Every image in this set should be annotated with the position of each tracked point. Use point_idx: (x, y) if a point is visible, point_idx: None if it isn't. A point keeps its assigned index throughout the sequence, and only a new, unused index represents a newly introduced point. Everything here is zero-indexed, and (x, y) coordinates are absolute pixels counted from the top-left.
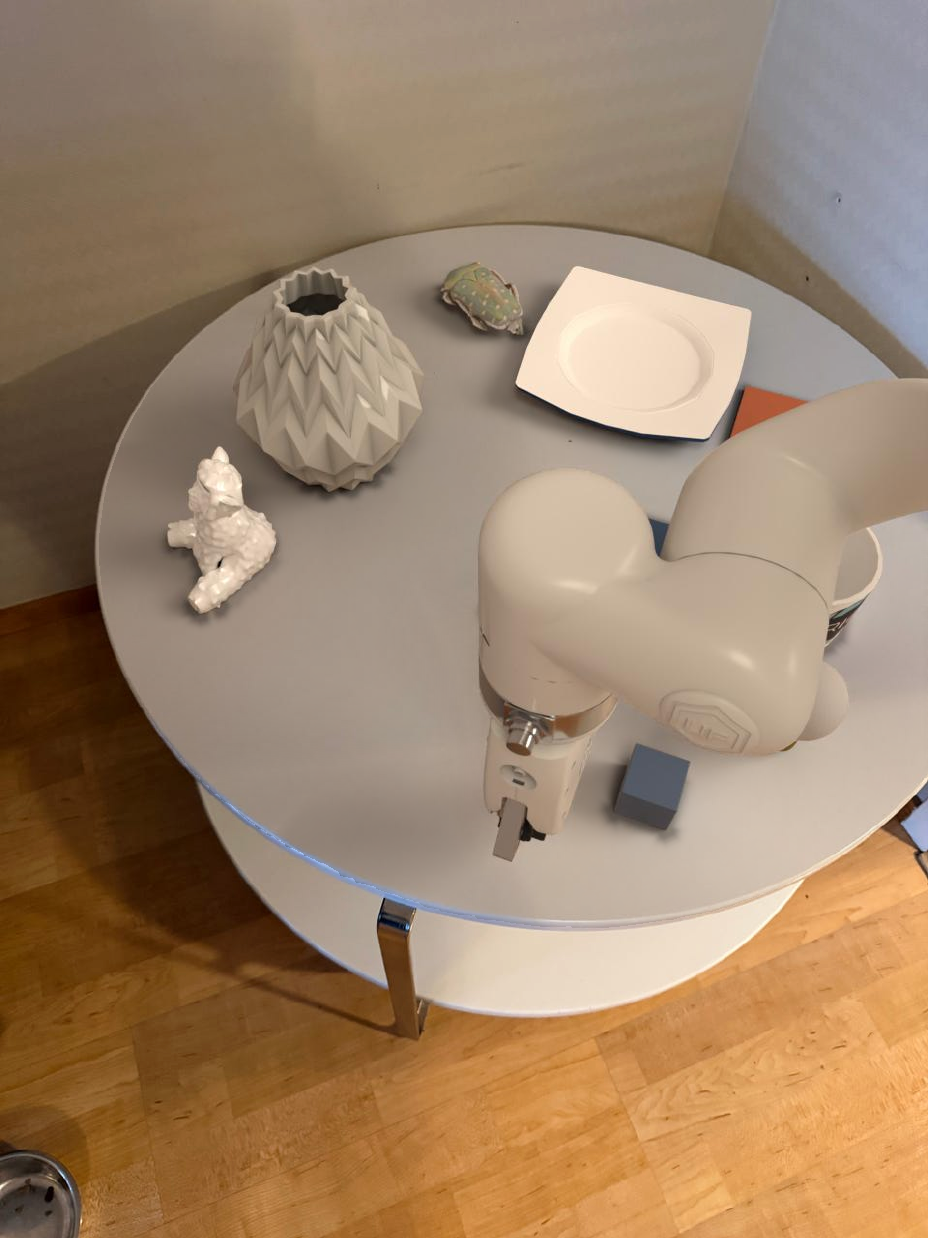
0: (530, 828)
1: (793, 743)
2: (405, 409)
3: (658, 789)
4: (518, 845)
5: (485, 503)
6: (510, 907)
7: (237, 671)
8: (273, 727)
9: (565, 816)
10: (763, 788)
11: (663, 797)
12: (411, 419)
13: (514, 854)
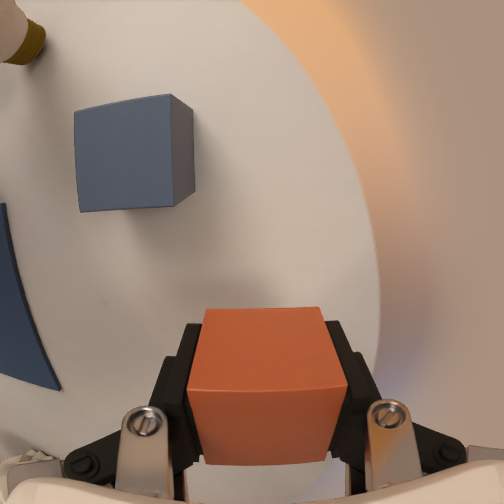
0: (444, 458)
1: (31, 21)
2: (5, 491)
3: (141, 141)
4: (478, 455)
5: (5, 395)
6: (373, 279)
7: (226, 497)
8: (257, 481)
9: (497, 499)
10: (93, 27)
11: (152, 126)
12: (6, 480)
13: (502, 457)
